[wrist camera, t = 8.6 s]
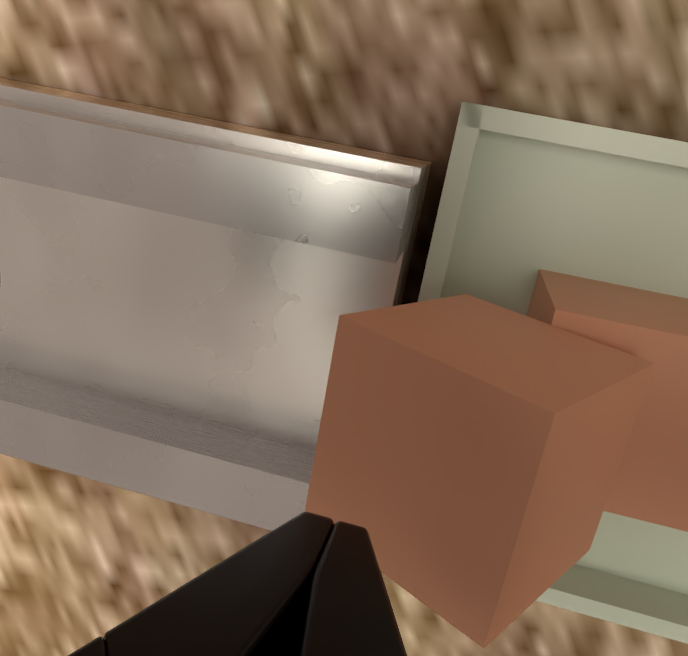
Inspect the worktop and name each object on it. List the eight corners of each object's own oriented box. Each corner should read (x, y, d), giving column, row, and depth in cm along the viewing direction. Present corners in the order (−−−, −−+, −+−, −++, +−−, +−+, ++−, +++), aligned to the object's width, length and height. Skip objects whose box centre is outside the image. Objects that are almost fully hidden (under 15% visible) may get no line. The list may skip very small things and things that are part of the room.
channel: (366, 465, 20) (333, 559, 15) (-72, 349, 22) (-210, 403, 17) (432, 162, 17) (413, 172, 12) (-80, 61, 19) (-247, 41, 15)
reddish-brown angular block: (427, 456, 15) (590, 549, 13) (304, 513, 12) (483, 648, 10) (466, 293, 14) (654, 363, 12) (339, 315, 11) (554, 414, 9)
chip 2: (654, 446, 17) (702, 535, 13) (501, 411, 18) (506, 487, 14) (705, 302, 16) (774, 355, 12) (539, 269, 16) (555, 309, 13)
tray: (768, 620, 18) (800, 675, 17) (373, 512, 20) (362, 551, 18) (971, 197, 15) (1043, 206, 13) (464, 105, 16) (462, 101, 14)
